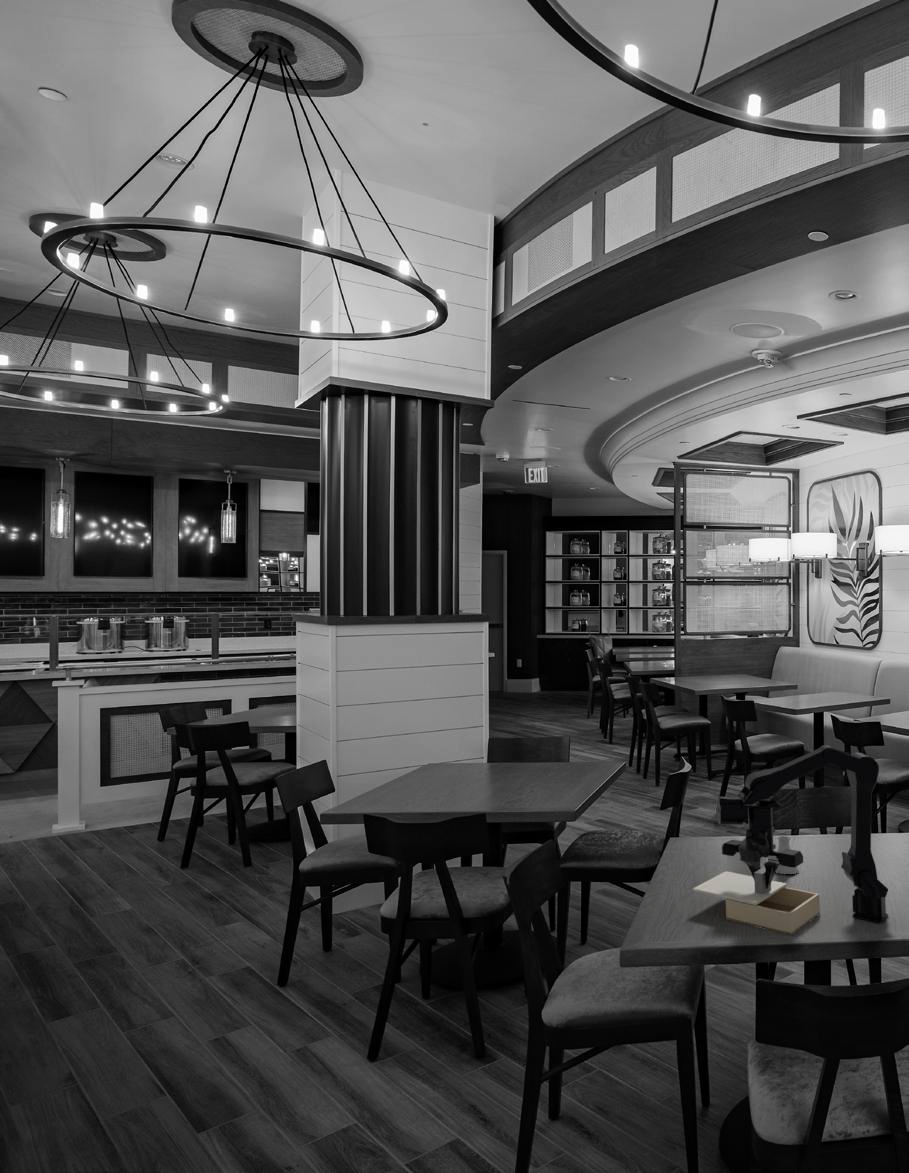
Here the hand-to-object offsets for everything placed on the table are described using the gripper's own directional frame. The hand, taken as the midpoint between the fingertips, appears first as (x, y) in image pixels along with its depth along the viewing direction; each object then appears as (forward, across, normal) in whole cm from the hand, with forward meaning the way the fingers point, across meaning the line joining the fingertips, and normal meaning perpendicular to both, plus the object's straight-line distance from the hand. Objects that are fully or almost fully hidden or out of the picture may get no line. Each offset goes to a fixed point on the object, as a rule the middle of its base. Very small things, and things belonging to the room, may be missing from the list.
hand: (762, 887), depth 211 cm
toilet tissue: (+7, -16, +25) cm, 30 cm away
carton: (+7, +2, 0) cm, 7 cm away
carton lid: (+1, -6, 0) cm, 6 cm away
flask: (+7, -10, +37) cm, 39 cm away
